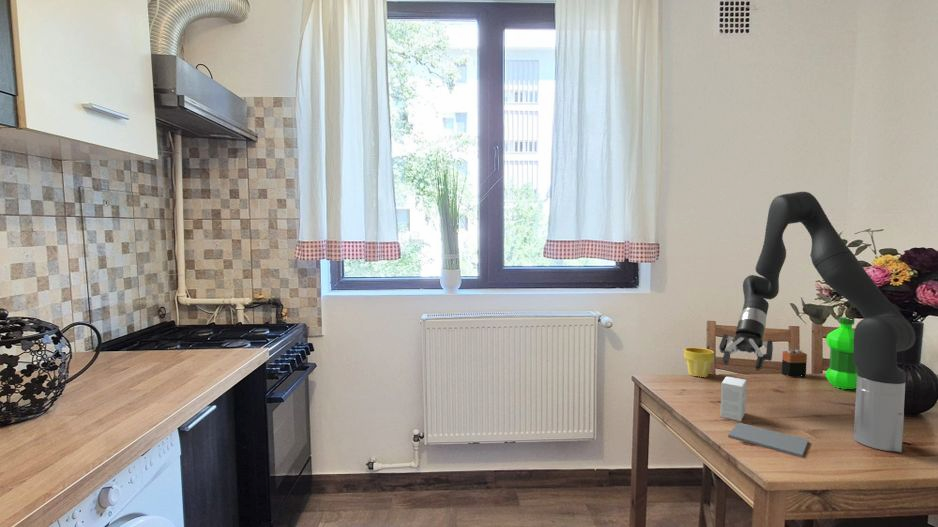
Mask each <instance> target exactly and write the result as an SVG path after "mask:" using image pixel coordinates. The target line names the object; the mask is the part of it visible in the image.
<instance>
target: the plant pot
mask: <svg viewBox="0 0 938 527" xmlns="http://www.w3.org/2000/svg"><path fill="white" fill-rule="evenodd" d="M683 358H684V359H685V361H686V368H687V372H688V375H690V376H691V377H694V376H698V377H697V378H701V377H704V378H707V377H708V376H709V373H710V369H711V366H712V363H713V362H714V361H715V352H714V350H711V349H708V348H702V347H693V346H690V347H685V348H684V349H683ZM699 376H700V377H699Z"/></svg>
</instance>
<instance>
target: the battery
mask: <svg viewBox="0 0 938 527" xmlns="http://www.w3.org/2000/svg"><path fill="white" fill-rule="evenodd" d="M781 359H782V362H781V374H782V375H783V376H786V375H788V376H801V375H802V376H805V375H806V376H807V363H808V362H807V361H808V360H807V359H808V354H807V353H805V352H803V350H801V349H794V350H792V349H788V350H786V351H785V350H784V351H782V358H781ZM788 376H787V377H788Z"/></svg>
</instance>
